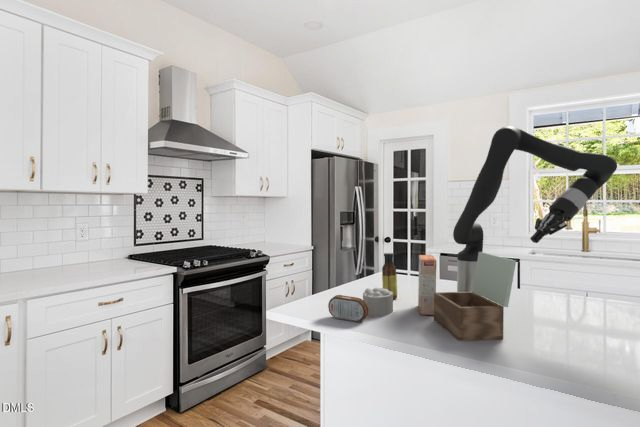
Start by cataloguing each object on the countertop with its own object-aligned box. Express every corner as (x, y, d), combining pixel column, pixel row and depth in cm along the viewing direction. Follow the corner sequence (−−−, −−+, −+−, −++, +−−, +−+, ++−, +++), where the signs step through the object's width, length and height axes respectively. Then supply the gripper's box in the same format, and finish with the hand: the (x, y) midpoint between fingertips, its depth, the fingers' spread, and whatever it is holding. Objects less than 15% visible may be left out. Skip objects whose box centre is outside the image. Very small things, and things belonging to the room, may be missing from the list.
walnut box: (471, 319, 138) (472, 291, 137) (503, 339, 118) (503, 306, 117) (434, 320, 136) (434, 292, 136) (459, 340, 117) (459, 308, 116)
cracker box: (436, 316, 142) (437, 259, 141) (419, 315, 143) (420, 259, 142) (433, 306, 155) (433, 254, 155) (417, 305, 157) (418, 254, 156)
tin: (368, 322, 135) (368, 298, 135) (365, 324, 133) (364, 300, 132) (331, 315, 143) (331, 293, 143) (327, 318, 140) (326, 295, 140)
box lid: (471, 291, 138) (477, 292, 138) (504, 306, 117) (510, 307, 117) (478, 251, 138) (484, 252, 138) (512, 260, 117) (518, 261, 117)
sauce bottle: (398, 297, 170) (398, 252, 170) (396, 300, 164) (396, 254, 164) (383, 296, 172) (383, 251, 172) (381, 299, 166) (381, 253, 166)
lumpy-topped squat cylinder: (395, 310, 150) (395, 288, 150) (382, 318, 139) (382, 294, 139) (371, 306, 156) (371, 285, 156) (357, 314, 145) (357, 291, 145)
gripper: (547, 196, 135) (514, 231, 135) (576, 196, 122) (539, 235, 121) (561, 211, 136) (528, 246, 135) (591, 212, 123) (554, 251, 122)
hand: (533, 241), depth 128 cm, fingers closed
